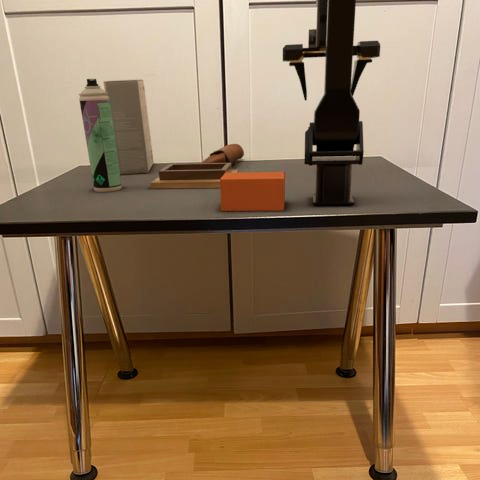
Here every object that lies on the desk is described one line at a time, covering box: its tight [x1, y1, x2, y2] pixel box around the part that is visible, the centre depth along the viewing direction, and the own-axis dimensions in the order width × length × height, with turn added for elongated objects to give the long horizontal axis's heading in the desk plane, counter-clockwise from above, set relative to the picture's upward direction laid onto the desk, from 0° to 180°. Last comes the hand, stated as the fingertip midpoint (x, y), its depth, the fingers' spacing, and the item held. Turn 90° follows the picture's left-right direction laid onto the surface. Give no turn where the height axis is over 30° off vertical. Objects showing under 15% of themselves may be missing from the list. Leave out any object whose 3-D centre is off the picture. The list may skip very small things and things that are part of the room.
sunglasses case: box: [201, 143, 245, 166], centre depth 120 cm, size 18×7×7 cm
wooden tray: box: [150, 162, 240, 190], centre depth 101 cm, size 14×16×3 cm
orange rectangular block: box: [219, 171, 286, 212], centre depth 78 cm, size 6×10×5 cm, turn 84°
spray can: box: [78, 78, 123, 193], centre depth 93 cm, size 6×6×20 cm
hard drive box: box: [102, 78, 154, 175], centre depth 115 cm, size 16×8×20 cm, turn 5°
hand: (328, 99), depth 99 cm, fingers open, 9 cm apart
